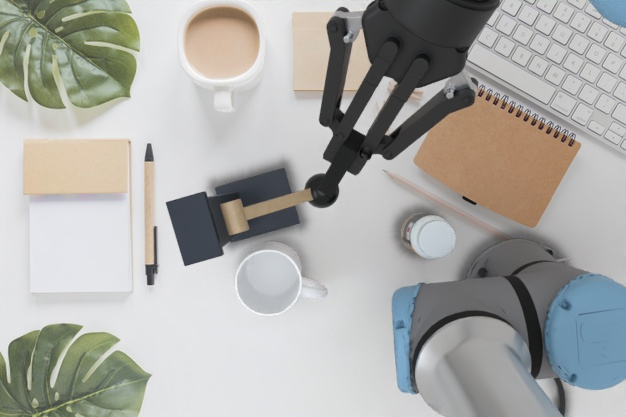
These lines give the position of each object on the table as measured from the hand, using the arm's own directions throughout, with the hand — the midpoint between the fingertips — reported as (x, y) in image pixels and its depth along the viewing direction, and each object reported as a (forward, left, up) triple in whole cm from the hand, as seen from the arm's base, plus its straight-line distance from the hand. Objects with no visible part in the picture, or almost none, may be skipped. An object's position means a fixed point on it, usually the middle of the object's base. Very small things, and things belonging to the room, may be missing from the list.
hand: (328, 184), depth 54 cm
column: (0, +13, -22) cm, 25 cm away
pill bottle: (-10, -12, -23) cm, 28 cm away
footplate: (0, +9, -23) cm, 25 cm away
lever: (0, +6, -1) cm, 6 cm away
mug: (-11, +8, -23) cm, 27 cm away
